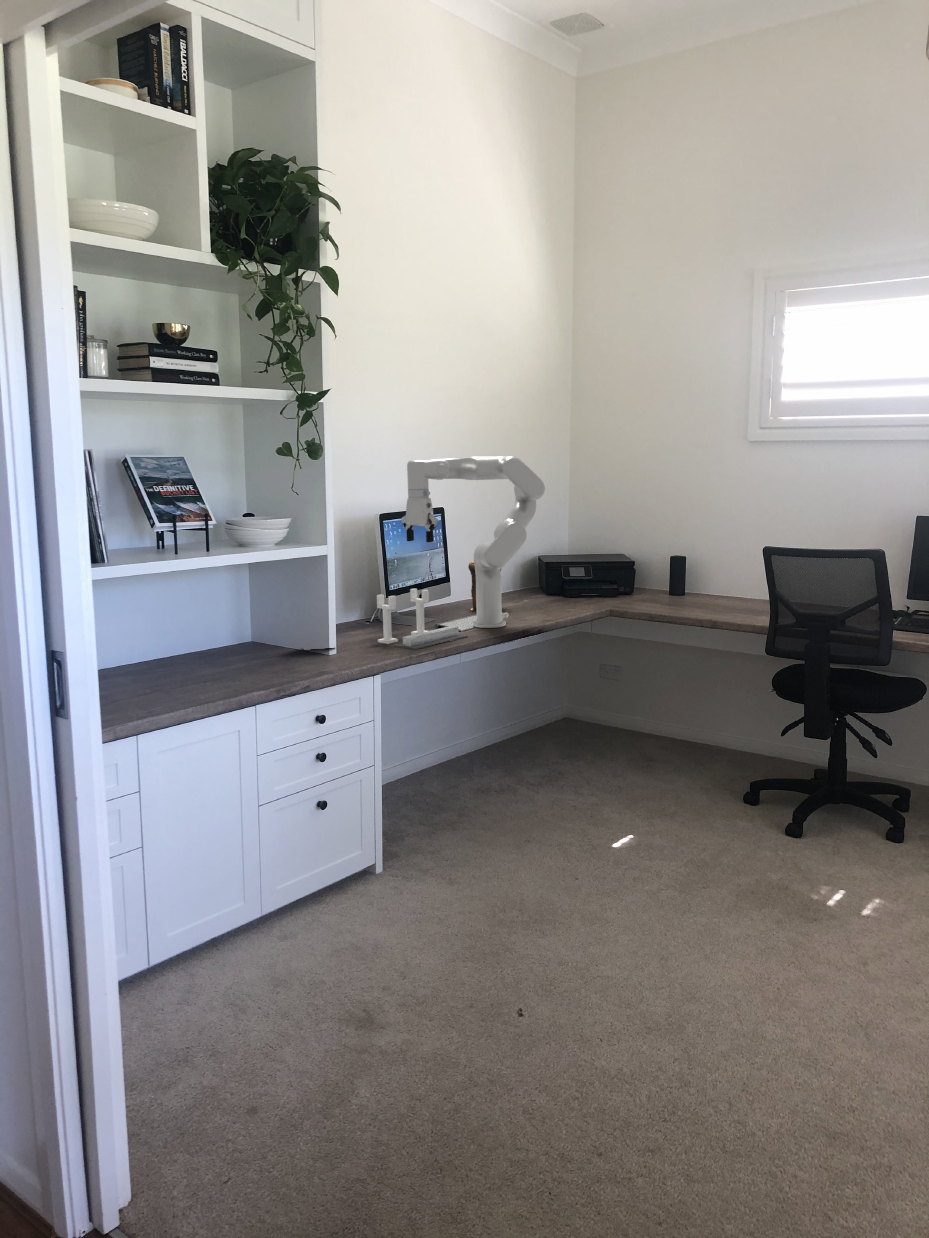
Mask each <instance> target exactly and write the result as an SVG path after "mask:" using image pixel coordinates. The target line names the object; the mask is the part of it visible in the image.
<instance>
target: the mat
mask: <svg viewBox="0 0 929 1238" xmlns="http://www.w3.org/2000/svg"><path fill="white" fill-rule="evenodd" d="M466 638H468V635H466V634H459V635H457V636H453V637H449V638H445V639H440V640H436V641H432V642H428V643H424V644H420V645H416V646H412V647H409V646H403V642H402V643H397V644H394V645H393V646H394V648H399V649H405V648H407V649H406V650H412V649H418V650H420V649H419V648H422V649H424V648H423V647H426V646H430V647H432V646H431V645H434V646H436V645H435V644H438V643H441V642H446V641H450V640H454V641H456V639H458V640H462V639H466ZM450 642H451V641H450ZM446 643H447V642H446ZM438 645H439V644H438ZM426 648H427V647H426Z"/></svg>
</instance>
